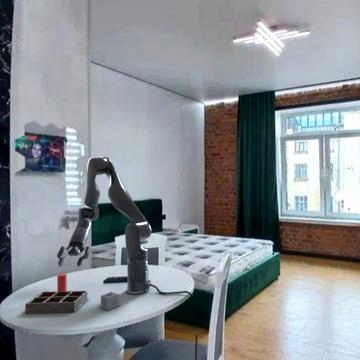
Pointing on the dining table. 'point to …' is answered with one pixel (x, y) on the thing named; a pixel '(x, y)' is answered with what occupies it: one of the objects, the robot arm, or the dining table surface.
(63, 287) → the red cylinder
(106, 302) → the dice cube
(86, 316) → the dining table surface
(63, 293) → the grid
